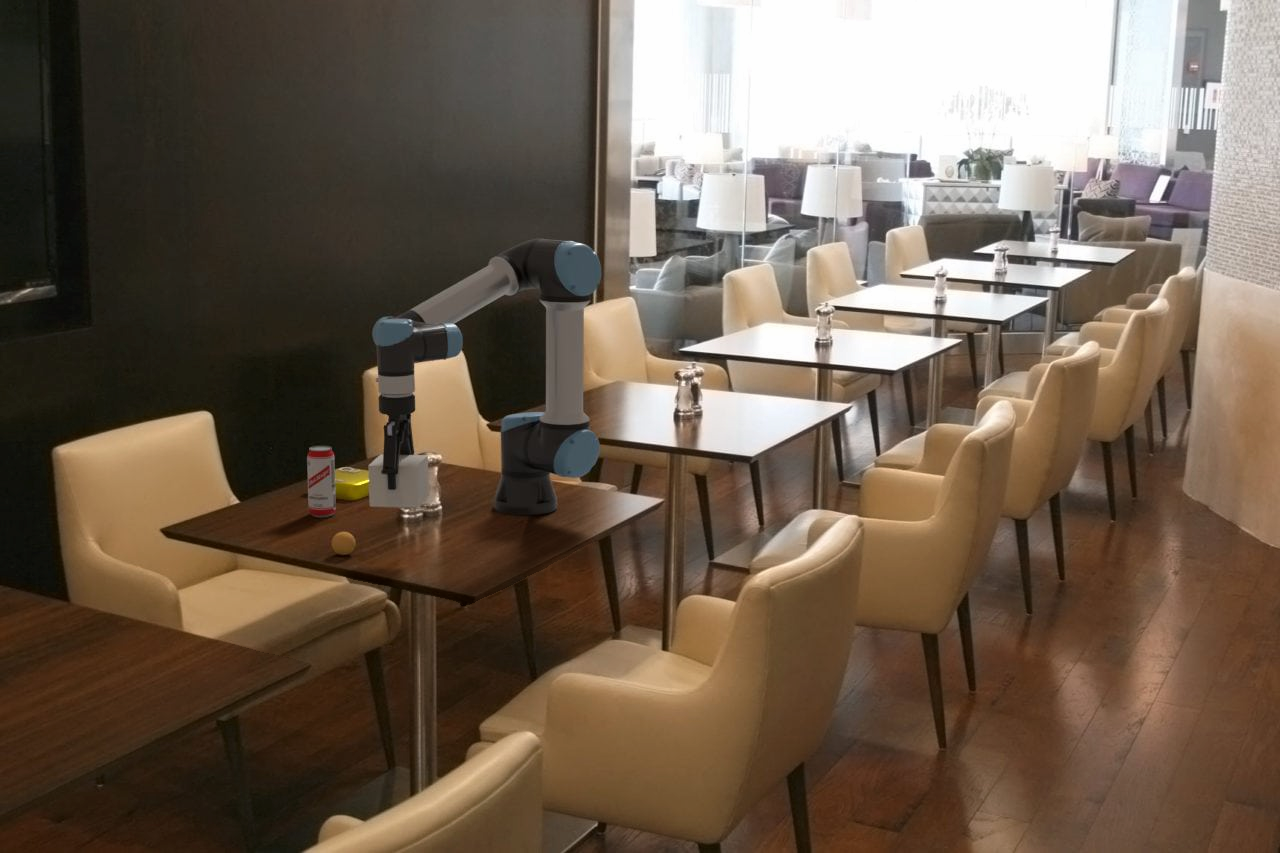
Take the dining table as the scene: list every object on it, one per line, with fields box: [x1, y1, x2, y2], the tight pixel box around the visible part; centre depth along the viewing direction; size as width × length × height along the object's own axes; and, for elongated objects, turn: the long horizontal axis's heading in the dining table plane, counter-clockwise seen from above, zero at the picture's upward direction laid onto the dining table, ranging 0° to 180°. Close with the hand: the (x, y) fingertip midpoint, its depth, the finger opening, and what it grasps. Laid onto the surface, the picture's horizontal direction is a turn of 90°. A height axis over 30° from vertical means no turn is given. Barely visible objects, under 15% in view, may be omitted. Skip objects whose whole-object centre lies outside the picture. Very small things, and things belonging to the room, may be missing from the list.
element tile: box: [335, 466, 369, 501], centre depth 373 cm, size 15×15×5 cm
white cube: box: [367, 453, 430, 509], centre depth 315 cm, size 10×10×9 cm
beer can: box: [306, 445, 337, 518], centre depth 349 cm, size 6×6×16 cm
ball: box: [331, 531, 356, 556], centre depth 318 cm, size 5×5×5 cm
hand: (399, 497), depth 316 cm, fingers closed on white cube, 10 cm apart
